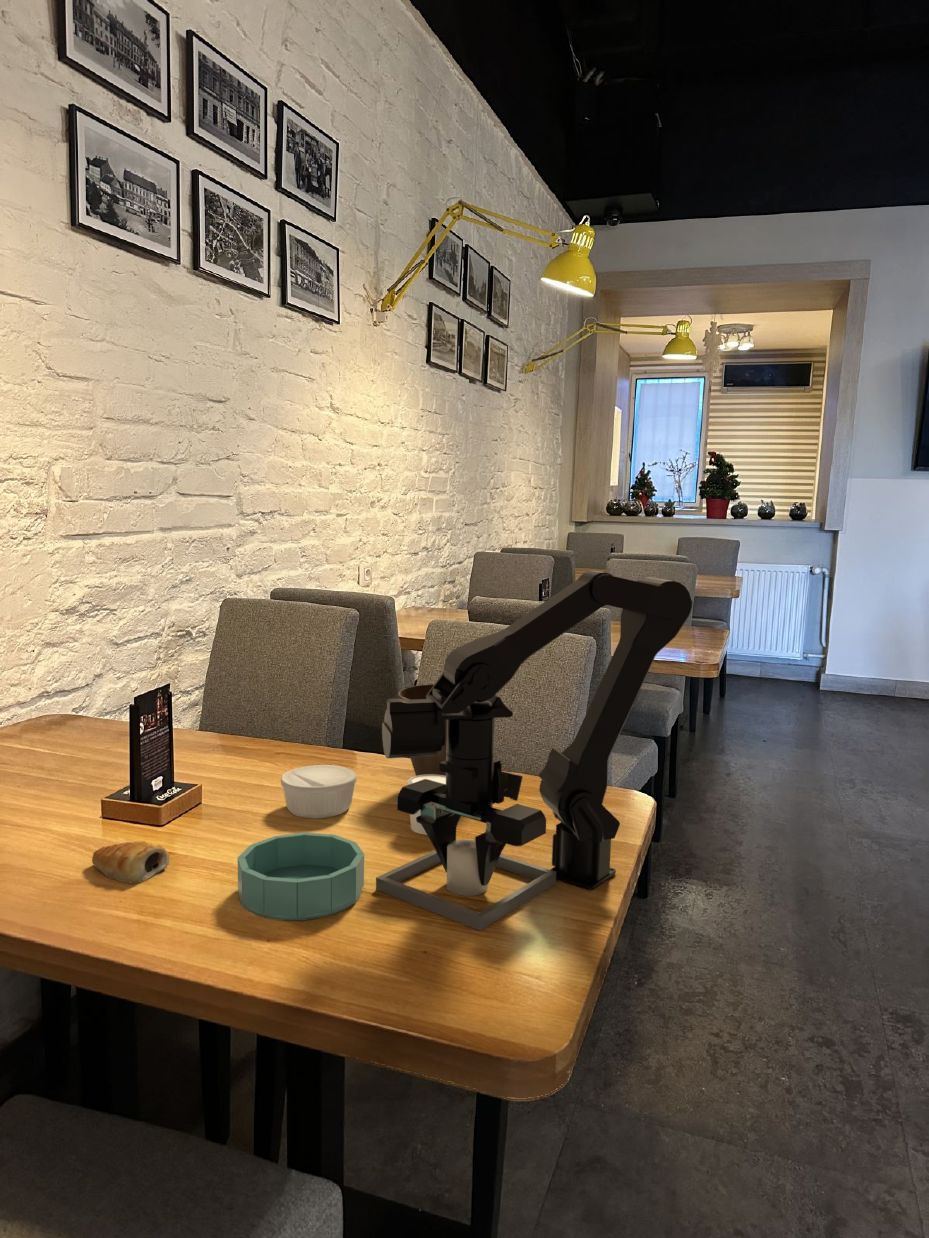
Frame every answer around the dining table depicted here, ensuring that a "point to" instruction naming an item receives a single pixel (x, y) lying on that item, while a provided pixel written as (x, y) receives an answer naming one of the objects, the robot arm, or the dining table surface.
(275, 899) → the bowl
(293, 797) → the ramekin
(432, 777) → the white cup
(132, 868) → the pastry
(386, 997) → the dining table surface
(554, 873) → the gray square frame
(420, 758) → the plant pot
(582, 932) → the dining table surface
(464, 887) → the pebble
